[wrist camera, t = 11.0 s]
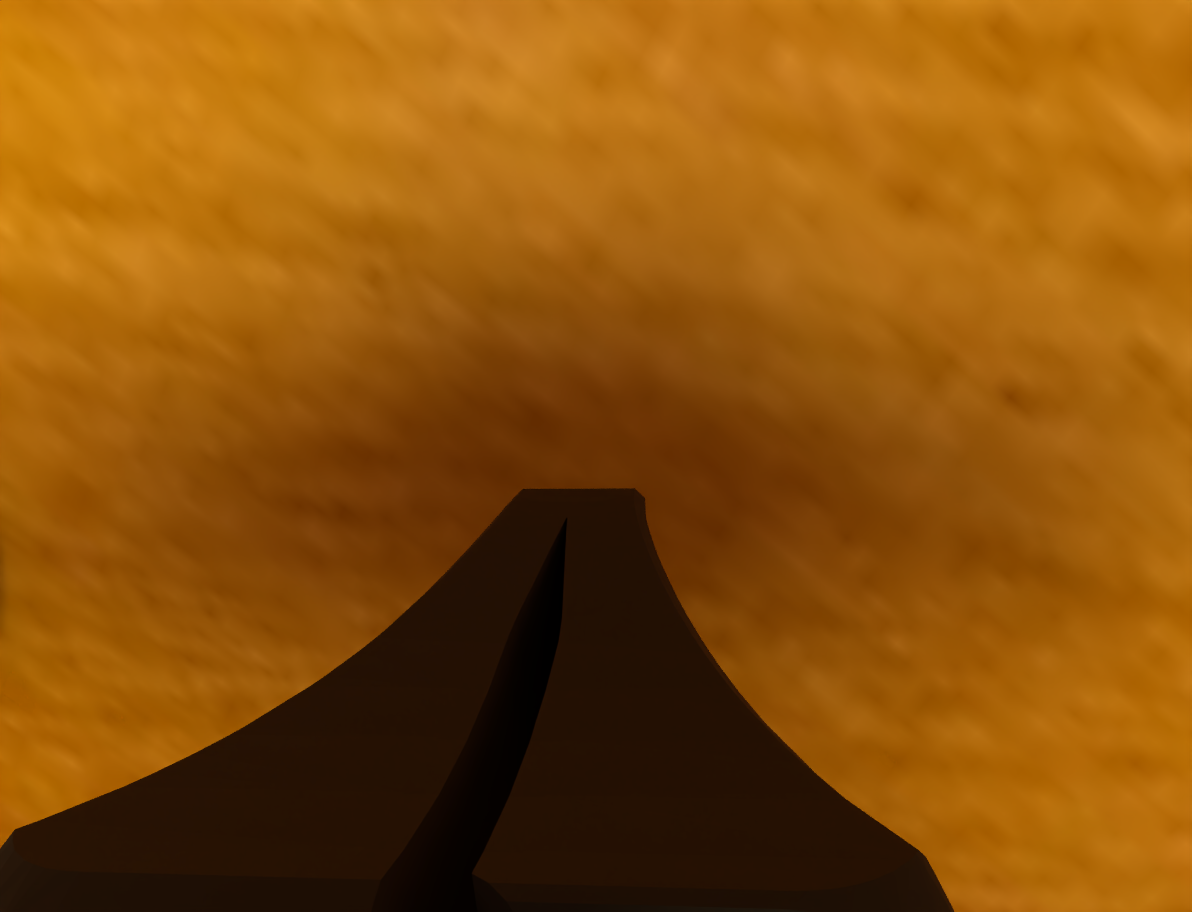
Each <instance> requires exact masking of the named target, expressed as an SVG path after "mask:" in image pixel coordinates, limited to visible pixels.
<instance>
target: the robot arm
mask: <svg viewBox="0 0 1192 912" xmlns="http://www.w3.org/2000/svg"><path fill="white" fill-rule="evenodd" d="M0 912H954V910H953V908H952V906H951V904H950V902H949V900H948V898H947V896H946V894H945V892H944V890H943V888H942V886H941V884H940V882H939V881H938V879H937V877H936V875H935V873H934V871H933V869H932V867H931V866H930V864H929V862H928V860H927V858H926V857H925V856H924V855H923V854H922V853H921V852H920V851H919V850H918V849H916V848H915V847H913V846H912V845H911V844H909V843H908V842H906V841H905V840H903V839H902V838H900V837H899V836H898V835H896V834H895V833H893V832H892V831H890V830H889V829H888V828H886V827H885V826H883V825H882V824H880V823H879V822H878V821H876V820H875V819H873V818H872V817H870V816H869V815H868V814H866V813H865V812H863V811H862V810H860V809H859V808H858V807H856V806H855V805H853V804H852V803H850V802H849V801H848V800H846V799H845V798H844V797H843V796H841V795H840V794H839V793H838V792H837V791H836V790H834V789H833V788H832V787H831V786H830V785H828V784H827V783H826V782H825V781H824V780H823V779H821V778H820V777H819V776H818V775H817V774H816V773H815V772H814V771H813V770H812V769H811V768H810V767H809V766H808V765H807V764H806V763H805V762H804V761H803V760H802V759H801V758H800V757H799V756H798V755H797V754H796V753H795V752H794V751H793V750H792V749H791V748H790V747H789V746H788V745H787V744H786V743H785V742H784V741H783V740H782V739H781V738H780V737H779V736H778V735H777V734H776V733H775V732H774V731H773V730H772V729H771V728H770V727H769V726H768V725H767V724H766V723H765V722H764V721H763V720H762V719H761V718H760V716H759V715H758V714H757V713H756V712H755V710H754V709H753V708H752V707H751V706H750V705H749V703H748V702H747V701H746V700H745V699H744V697H743V696H742V695H741V694H740V693H739V691H738V690H737V689H736V687H735V686H734V685H733V684H732V682H731V681H730V680H729V678H728V677H727V676H726V674H725V673H724V672H723V670H722V669H721V668H720V666H719V665H718V663H717V662H716V661H715V659H714V658H713V656H712V655H711V653H710V652H709V650H708V649H707V647H706V646H705V644H704V643H703V641H702V640H701V638H700V636H699V635H698V633H697V631H696V630H695V628H694V626H693V625H692V623H691V621H690V620H689V618H688V616H687V615H686V613H685V611H684V609H683V607H682V605H681V604H680V602H679V600H678V598H677V596H676V594H675V592H674V590H673V588H672V586H671V584H670V581H669V579H668V577H667V575H666V573H665V571H664V569H663V567H662V565H661V562H660V560H659V557H658V555H657V552H656V550H655V547H654V544H653V541H652V538H651V535H650V532H649V528H648V525H647V521H646V514H645V498H644V497H643V496H642V495H641V494H640V493H639V492H638V491H637V490H636V489H635V488H632V489H523V490H521V491H520V492H519V493H518V494H517V495H516V496H515V497H514V498H513V499H512V500H511V502H510V503H509V504H508V505H507V506H506V507H505V508H504V509H503V510H502V512H501V513H500V514H499V515H498V516H497V517H496V518H495V520H494V521H493V522H492V523H491V524H490V525H489V526H488V528H487V529H486V530H485V531H484V532H483V533H482V534H481V535H480V537H479V538H478V539H477V540H476V541H475V542H474V543H473V544H472V545H471V547H470V548H469V549H468V550H467V551H466V552H465V553H464V554H463V555H462V556H461V557H460V558H459V559H458V560H457V561H456V562H455V563H454V565H453V566H452V567H451V568H450V569H449V570H448V571H447V572H446V573H445V574H444V575H443V576H442V577H441V578H440V579H439V580H438V581H437V582H436V583H435V584H434V585H433V586H432V587H431V588H430V589H429V590H428V591H427V592H426V593H425V594H424V595H423V596H422V597H421V598H420V599H419V600H418V601H417V602H415V603H414V604H413V605H412V606H411V607H410V608H409V609H408V610H407V611H406V612H405V613H403V614H402V615H401V616H400V617H399V618H398V619H397V620H396V621H395V622H394V623H393V624H391V625H390V626H389V627H388V628H387V629H386V630H385V631H384V632H382V633H381V634H380V635H379V636H378V637H376V638H375V639H374V640H373V641H371V642H370V643H369V644H367V645H366V646H365V647H364V648H362V649H361V650H360V651H359V652H357V653H356V654H355V655H353V656H352V657H350V658H349V659H348V660H346V661H345V662H344V663H342V664H341V665H340V666H338V667H337V668H335V669H334V670H333V671H331V672H330V673H329V674H327V675H326V676H325V677H323V678H322V679H320V680H319V681H317V682H316V683H314V684H313V685H311V686H310V687H308V688H307V689H305V690H303V691H302V692H300V693H298V694H297V695H295V696H294V697H292V698H290V699H289V700H287V701H285V702H284V703H282V704H281V705H279V706H277V707H276V708H274V709H272V710H271V711H269V712H268V713H266V714H264V715H263V716H261V717H259V718H258V719H256V720H255V721H253V722H251V723H250V724H248V725H246V726H245V727H243V728H241V729H240V730H238V731H236V732H234V733H232V734H231V735H229V736H227V737H225V738H223V739H221V740H219V741H217V742H215V743H214V744H212V745H210V746H208V747H206V748H204V749H202V750H200V751H198V752H196V753H195V754H192V755H190V756H188V757H186V758H184V759H182V760H180V761H178V762H176V763H174V764H172V765H170V766H168V767H166V768H164V769H161V770H159V771H157V772H155V773H153V774H151V775H149V776H147V777H144V778H142V779H140V780H138V781H135V782H133V783H131V784H129V785H127V786H124V787H122V788H119V789H117V790H114V791H112V792H109V793H107V794H104V795H102V796H99V797H97V798H94V799H92V800H90V801H87V802H85V803H82V804H80V805H77V806H75V807H72V808H70V809H67V810H65V811H62V812H60V813H57V814H55V815H52V816H50V817H47V818H45V819H42V820H40V821H37V822H34V823H32V824H29V825H26V826H23V827H21V828H18V829H15V830H14V832H13V833H12V834H11V835H10V837H9V838H8V839H7V841H6V842H5V843H4V844H3V846H2V847H1V848H0Z"/></svg>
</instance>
